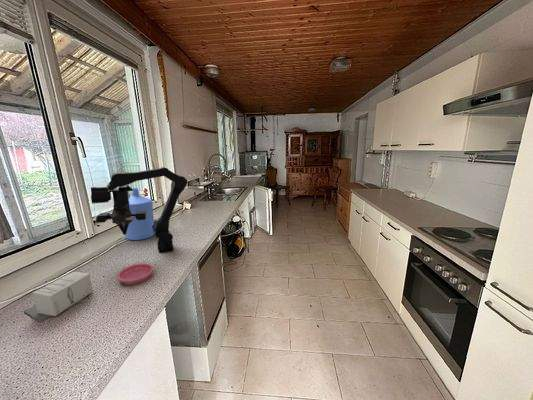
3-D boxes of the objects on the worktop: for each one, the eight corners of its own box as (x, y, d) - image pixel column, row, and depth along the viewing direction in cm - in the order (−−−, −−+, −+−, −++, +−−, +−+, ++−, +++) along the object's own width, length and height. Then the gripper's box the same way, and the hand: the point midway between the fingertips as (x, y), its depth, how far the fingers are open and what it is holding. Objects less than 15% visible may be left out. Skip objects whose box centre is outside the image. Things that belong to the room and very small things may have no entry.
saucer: (160, 275, 91) (159, 268, 91) (129, 291, 81) (128, 284, 80) (142, 266, 97) (141, 260, 97) (111, 281, 87) (110, 273, 86)
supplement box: (94, 291, 80) (55, 317, 68) (77, 288, 81) (36, 313, 69) (90, 273, 78) (49, 296, 66) (73, 270, 79) (30, 293, 67)
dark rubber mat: (69, 290, 81) (69, 289, 81) (85, 298, 77) (85, 297, 77) (24, 311, 70) (23, 310, 70) (40, 322, 66) (39, 321, 66)
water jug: (147, 241, 123) (141, 191, 117) (119, 240, 124) (111, 191, 117) (160, 230, 138) (156, 186, 132) (136, 230, 139) (129, 186, 132)
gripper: (88, 206, 87) (93, 243, 90) (142, 204, 94) (145, 239, 97) (98, 200, 97) (102, 234, 101) (146, 198, 104) (148, 230, 107)
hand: (124, 234), depth 101 cm, fingers closed
